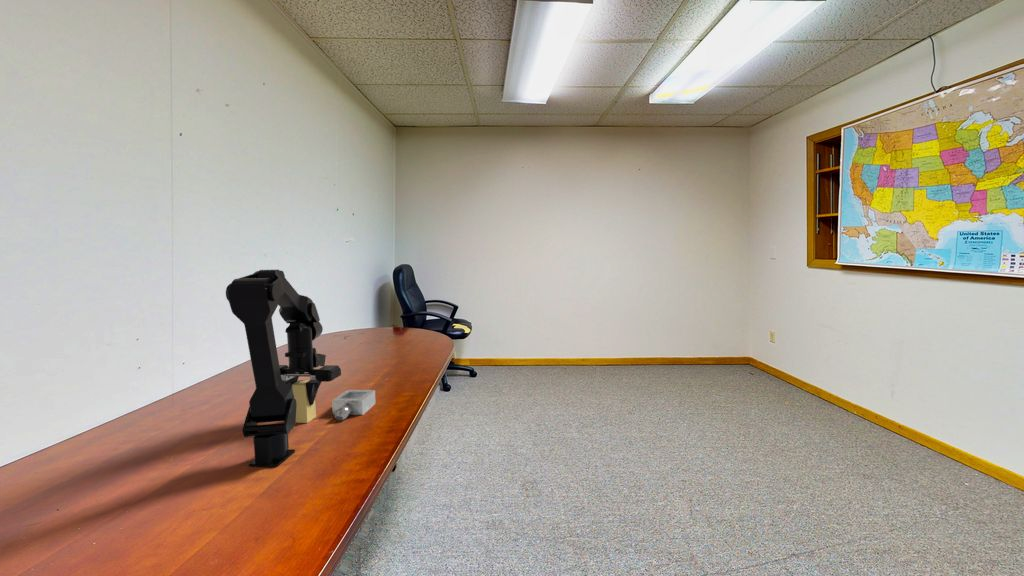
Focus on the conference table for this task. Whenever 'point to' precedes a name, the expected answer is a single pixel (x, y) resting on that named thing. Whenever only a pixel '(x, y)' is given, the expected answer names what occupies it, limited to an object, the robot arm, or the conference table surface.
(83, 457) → the conference table surface
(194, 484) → the conference table surface
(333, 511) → the conference table surface
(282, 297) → the robot arm
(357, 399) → the bracket head
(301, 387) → the butter yellow block
